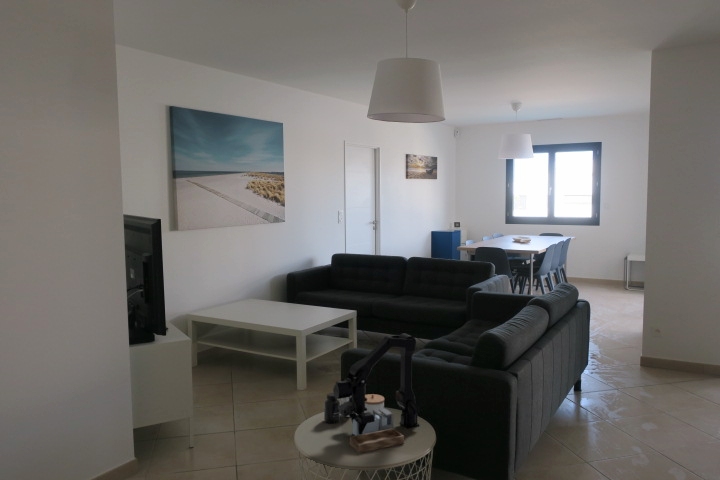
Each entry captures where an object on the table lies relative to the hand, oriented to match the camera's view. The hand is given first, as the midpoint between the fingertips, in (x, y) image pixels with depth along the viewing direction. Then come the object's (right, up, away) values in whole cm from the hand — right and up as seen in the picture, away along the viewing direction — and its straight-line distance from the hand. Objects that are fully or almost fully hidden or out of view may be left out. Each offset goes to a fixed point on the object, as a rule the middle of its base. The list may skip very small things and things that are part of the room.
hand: (357, 432), depth 225 cm
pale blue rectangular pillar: (+5, -1, +2) cm, 6 cm away
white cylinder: (-5, 0, +21) cm, 22 cm away
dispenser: (+11, -1, +5) cm, 12 cm away
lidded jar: (+7, 0, +22) cm, 23 cm away
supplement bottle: (-12, 0, +14) cm, 18 cm away
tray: (+8, -2, -8) cm, 11 cm away
